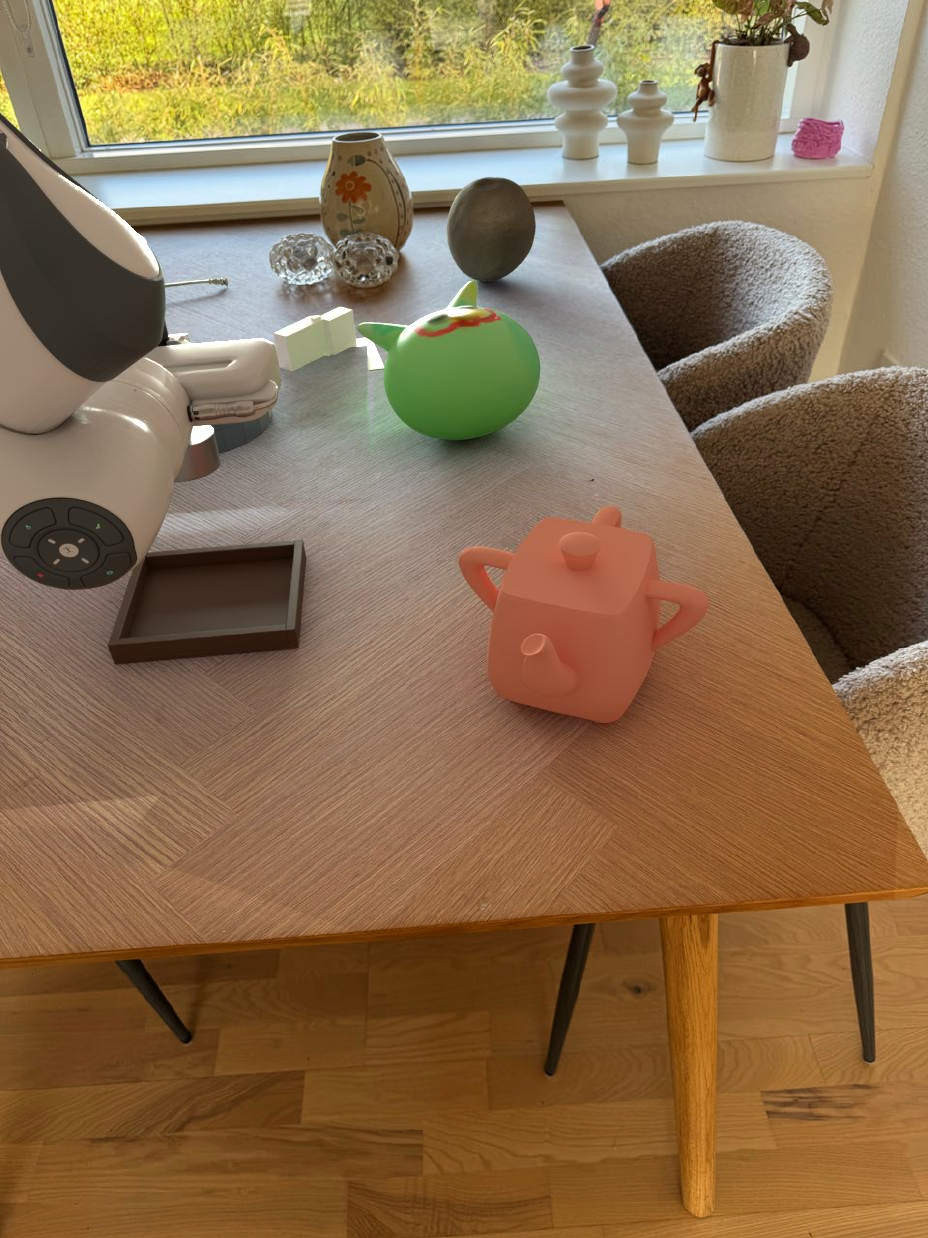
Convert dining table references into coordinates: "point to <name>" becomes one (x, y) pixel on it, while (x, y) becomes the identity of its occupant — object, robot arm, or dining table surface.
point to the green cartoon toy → (458, 369)
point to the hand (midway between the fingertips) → (158, 344)
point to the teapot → (577, 615)
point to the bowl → (240, 432)
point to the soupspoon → (214, 281)
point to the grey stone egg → (490, 228)
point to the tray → (211, 602)
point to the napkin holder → (321, 340)
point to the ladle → (197, 445)
